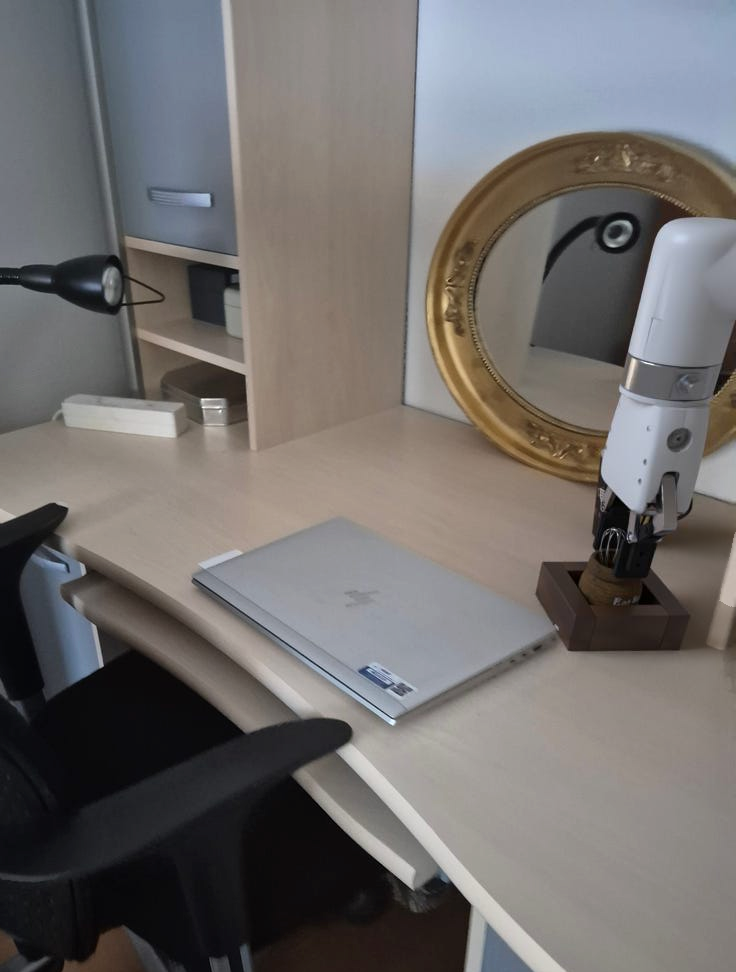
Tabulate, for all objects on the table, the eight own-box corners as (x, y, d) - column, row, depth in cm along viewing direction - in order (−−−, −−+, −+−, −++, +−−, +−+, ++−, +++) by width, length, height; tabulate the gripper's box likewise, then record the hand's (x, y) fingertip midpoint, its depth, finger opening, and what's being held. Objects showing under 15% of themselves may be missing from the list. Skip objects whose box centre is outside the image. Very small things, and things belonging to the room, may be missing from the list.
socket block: (635, 593, 91) (645, 560, 89) (679, 650, 82) (691, 615, 80) (534, 593, 91) (541, 561, 89) (567, 650, 82) (576, 616, 80)
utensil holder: (559, 618, 87) (586, 513, 80) (590, 597, 90) (617, 494, 83) (613, 642, 83) (646, 534, 76) (643, 618, 87) (676, 513, 80)
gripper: (762, 408, 66) (694, 607, 76) (670, 351, 80) (623, 525, 90) (666, 409, 65) (612, 608, 76) (591, 352, 80) (554, 525, 90)
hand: (619, 561), depth 83 cm, fingers closed on utensil holder, 4 cm apart
